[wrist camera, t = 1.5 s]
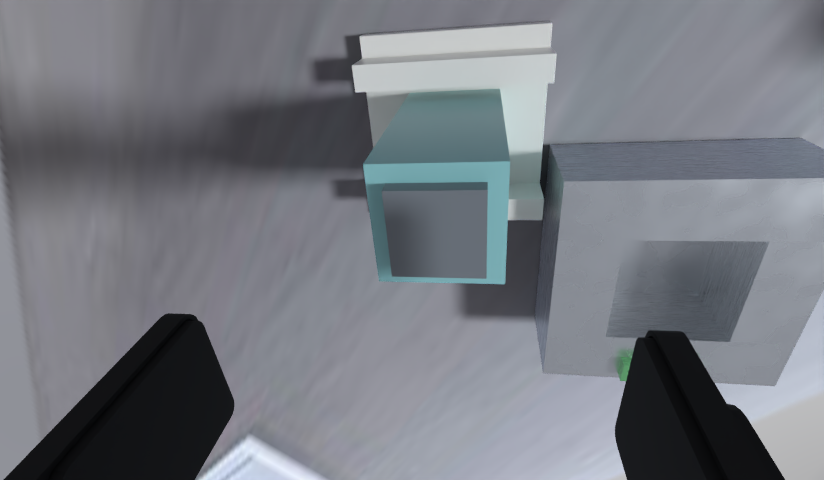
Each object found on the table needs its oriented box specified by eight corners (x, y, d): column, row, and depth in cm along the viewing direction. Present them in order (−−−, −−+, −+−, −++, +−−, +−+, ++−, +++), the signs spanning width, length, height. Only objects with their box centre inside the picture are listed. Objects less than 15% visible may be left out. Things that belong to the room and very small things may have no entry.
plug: (409, 92, 22) (358, 171, 13) (499, 88, 21) (511, 168, 12) (415, 175, 24) (375, 291, 15) (497, 174, 24) (505, 294, 15)
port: (549, 144, 23) (566, 187, 19) (801, 138, 21) (892, 183, 17) (534, 316, 29) (544, 381, 25) (730, 323, 28) (781, 395, 23)
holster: (364, 34, 22) (348, 41, 19) (549, 21, 20) (558, 27, 18) (385, 211, 27) (374, 235, 24) (534, 211, 25) (540, 236, 23)
